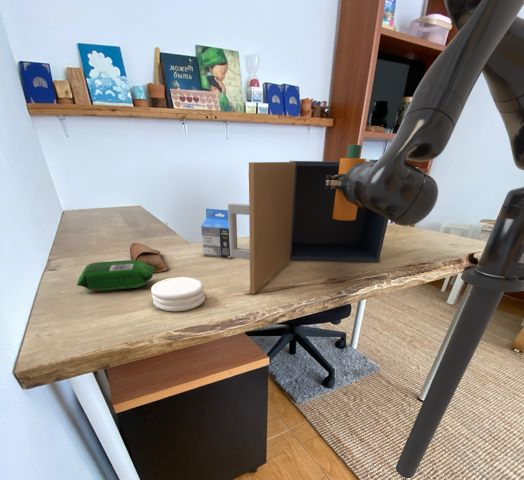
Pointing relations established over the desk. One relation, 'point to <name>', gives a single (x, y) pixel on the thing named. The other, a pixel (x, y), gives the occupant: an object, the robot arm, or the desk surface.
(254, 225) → the fridge door
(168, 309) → the coaster
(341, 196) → the juice bottle
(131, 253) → the sunglasses case
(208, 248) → the tape cartridge
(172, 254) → the desk surface
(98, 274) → the snack package
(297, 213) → the box
